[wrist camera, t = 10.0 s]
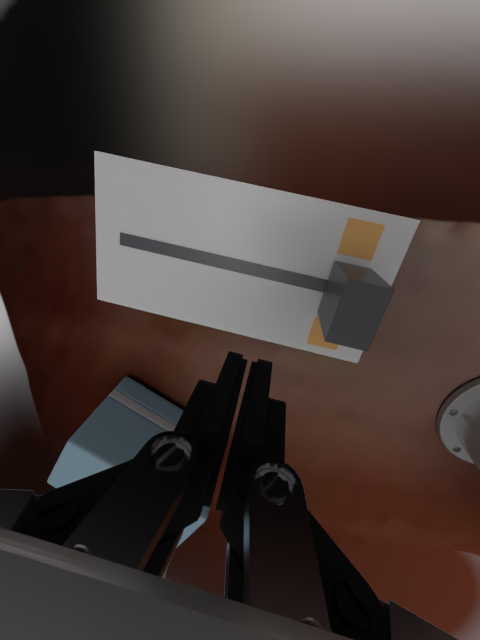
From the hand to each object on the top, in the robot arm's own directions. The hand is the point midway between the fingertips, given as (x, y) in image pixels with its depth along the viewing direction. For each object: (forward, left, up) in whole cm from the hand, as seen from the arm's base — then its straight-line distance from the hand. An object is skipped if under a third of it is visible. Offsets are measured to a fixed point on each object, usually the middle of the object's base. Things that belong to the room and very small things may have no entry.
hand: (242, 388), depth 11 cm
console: (+3, 0, -21) cm, 21 cm away
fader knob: (-7, 0, -17) cm, 18 cm away
